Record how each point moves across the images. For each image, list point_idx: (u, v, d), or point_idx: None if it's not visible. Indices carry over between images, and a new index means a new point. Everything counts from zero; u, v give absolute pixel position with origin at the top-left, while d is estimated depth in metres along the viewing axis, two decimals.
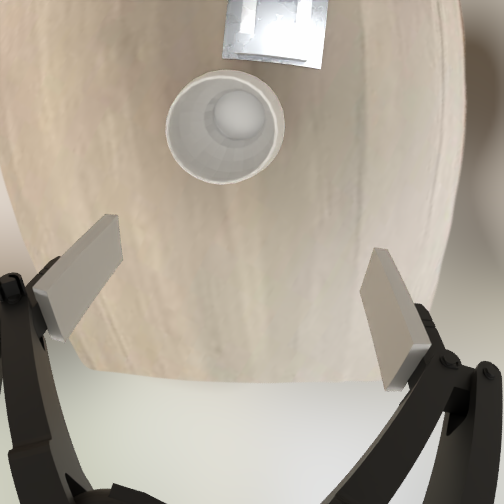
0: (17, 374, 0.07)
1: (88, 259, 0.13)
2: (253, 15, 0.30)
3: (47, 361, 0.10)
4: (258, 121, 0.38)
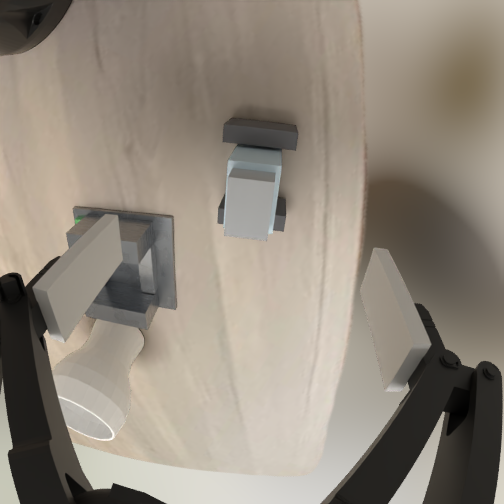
0: (17, 374, 0.07)
1: (88, 259, 0.13)
2: None
3: (47, 361, 0.10)
4: None
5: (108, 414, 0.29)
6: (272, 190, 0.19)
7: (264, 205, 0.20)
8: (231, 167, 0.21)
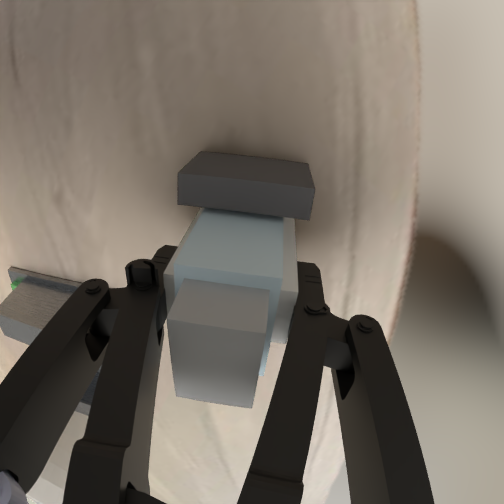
0: (119, 366, 0.08)
1: None
2: None
3: (158, 357, 0.11)
4: None
5: None
6: (261, 345, 0.09)
7: (245, 366, 0.09)
8: (182, 277, 0.10)
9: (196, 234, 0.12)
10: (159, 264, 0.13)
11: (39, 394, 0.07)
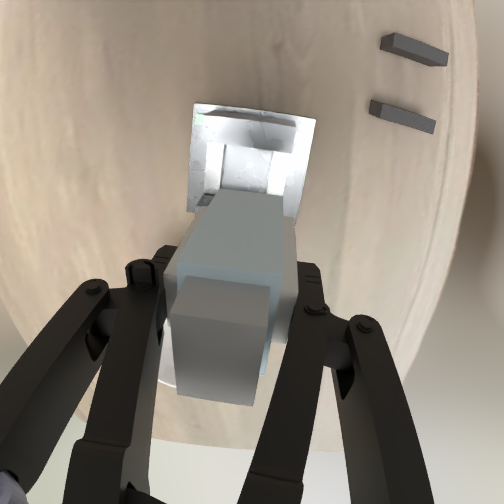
0: (119, 366, 0.08)
1: None
2: (219, 167, 0.31)
3: (158, 357, 0.11)
4: None
5: None
6: (262, 339, 0.09)
7: (246, 361, 0.10)
8: (184, 274, 0.11)
9: (198, 234, 0.12)
10: (159, 264, 0.13)
11: (39, 394, 0.07)
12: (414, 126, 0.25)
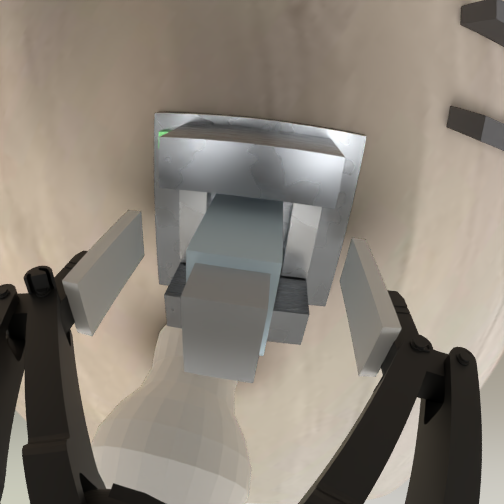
0: (40, 369, 0.07)
1: (115, 253, 0.14)
2: None
3: (72, 357, 0.10)
4: None
5: None
6: (263, 320, 0.10)
7: (248, 341, 0.11)
8: (193, 261, 0.12)
9: (205, 225, 0.13)
10: (70, 270, 0.12)
11: None
12: None
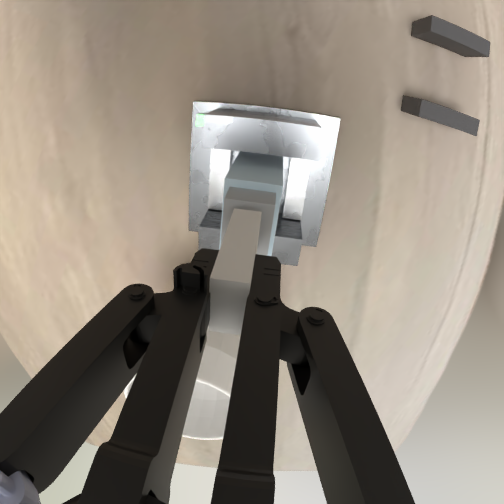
0: (157, 372, 0.08)
1: None
2: None
3: (198, 363, 0.11)
4: None
5: None
6: (272, 213, 0.18)
7: (263, 229, 0.18)
8: (228, 185, 0.19)
9: (233, 169, 0.21)
10: None
11: (67, 400, 0.07)
12: (456, 126, 0.20)
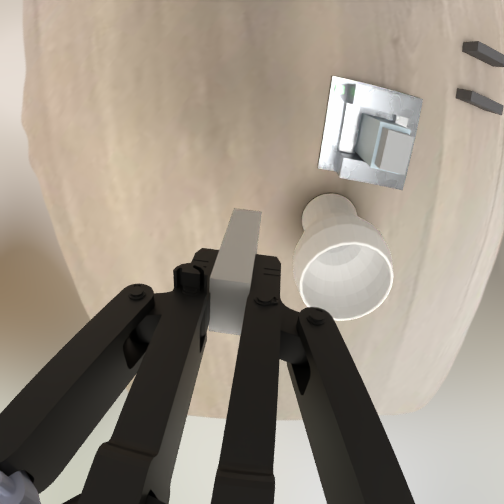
0: (157, 372, 0.08)
1: None
2: (354, 130, 0.35)
3: (198, 363, 0.11)
4: None
5: (392, 265, 0.30)
6: (412, 142, 0.27)
7: (406, 151, 0.27)
8: (382, 126, 0.28)
9: (377, 119, 0.30)
10: None
11: (67, 400, 0.07)
12: (490, 108, 0.29)
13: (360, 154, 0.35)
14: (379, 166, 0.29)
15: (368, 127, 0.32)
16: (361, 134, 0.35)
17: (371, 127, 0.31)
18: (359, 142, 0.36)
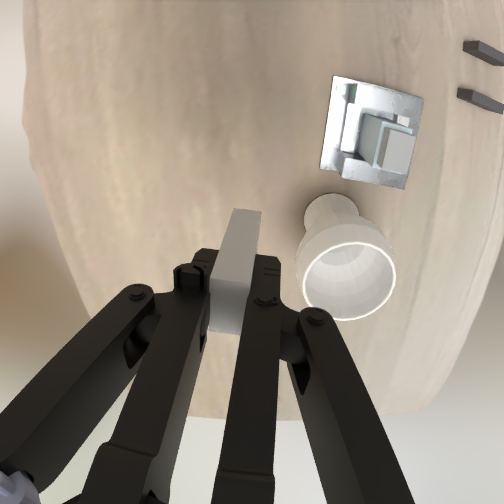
0: (157, 372, 0.08)
1: None
2: (356, 130, 0.35)
3: (198, 363, 0.11)
4: None
5: None
6: (414, 141, 0.27)
7: (408, 150, 0.27)
8: (383, 126, 0.28)
9: (378, 118, 0.30)
10: None
11: (67, 400, 0.07)
12: (491, 108, 0.29)
13: (362, 154, 0.35)
14: (381, 166, 0.29)
15: (370, 127, 0.32)
16: (363, 134, 0.35)
17: (373, 127, 0.31)
18: (361, 142, 0.35)
